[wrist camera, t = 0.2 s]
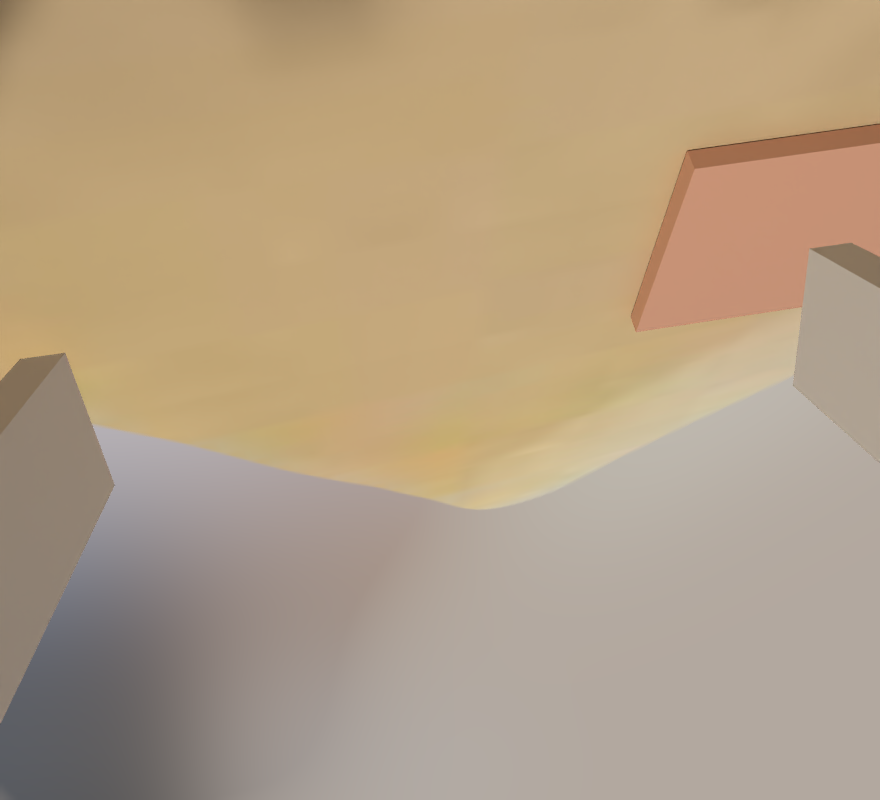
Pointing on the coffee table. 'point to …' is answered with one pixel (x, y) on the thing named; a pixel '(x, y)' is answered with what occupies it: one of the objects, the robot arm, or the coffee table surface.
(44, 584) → the robot arm
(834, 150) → the tile
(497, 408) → the coffee table surface
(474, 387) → the coffee table surface
